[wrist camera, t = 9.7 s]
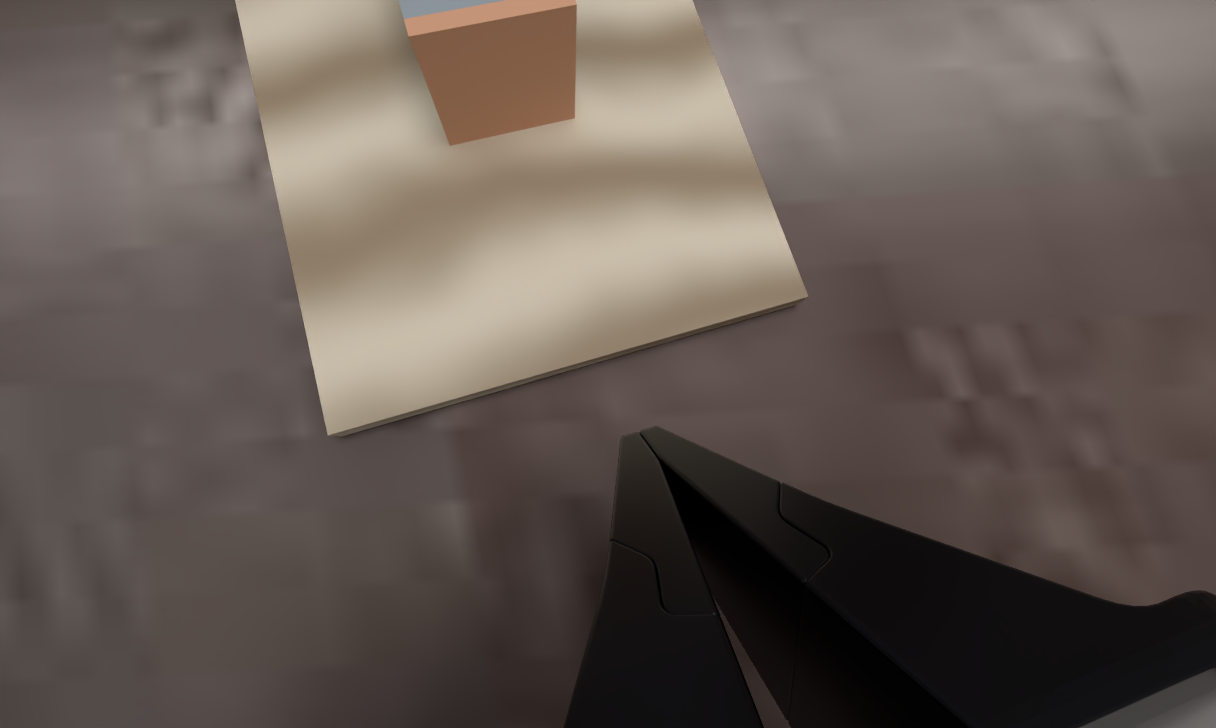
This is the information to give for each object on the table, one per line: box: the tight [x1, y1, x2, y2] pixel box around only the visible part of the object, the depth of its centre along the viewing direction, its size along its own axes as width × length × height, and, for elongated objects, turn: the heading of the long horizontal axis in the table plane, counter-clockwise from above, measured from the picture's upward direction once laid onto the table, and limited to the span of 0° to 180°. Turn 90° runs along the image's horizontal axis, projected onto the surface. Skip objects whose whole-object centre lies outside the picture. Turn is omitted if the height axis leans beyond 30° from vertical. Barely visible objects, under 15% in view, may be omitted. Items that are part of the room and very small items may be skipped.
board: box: [235, 0, 808, 437], centre depth 20 cm, size 26×18×1 cm
